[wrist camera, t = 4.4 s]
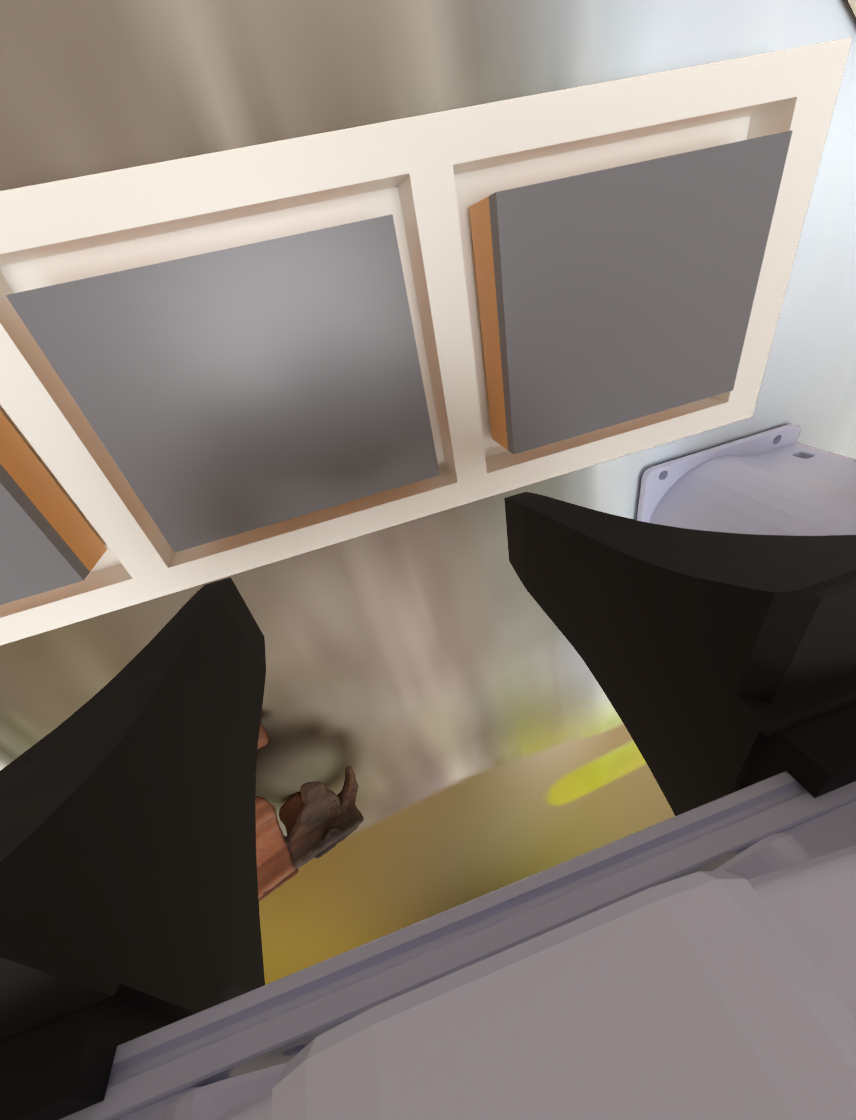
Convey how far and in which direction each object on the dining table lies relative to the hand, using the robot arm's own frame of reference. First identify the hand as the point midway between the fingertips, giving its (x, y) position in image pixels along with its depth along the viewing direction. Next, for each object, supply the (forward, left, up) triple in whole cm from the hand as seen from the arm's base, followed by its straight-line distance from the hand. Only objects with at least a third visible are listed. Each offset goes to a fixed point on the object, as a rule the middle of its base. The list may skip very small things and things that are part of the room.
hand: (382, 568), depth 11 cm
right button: (-10, -4, -6) cm, 13 cm away
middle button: (+2, -4, -6) cm, 8 cm away
